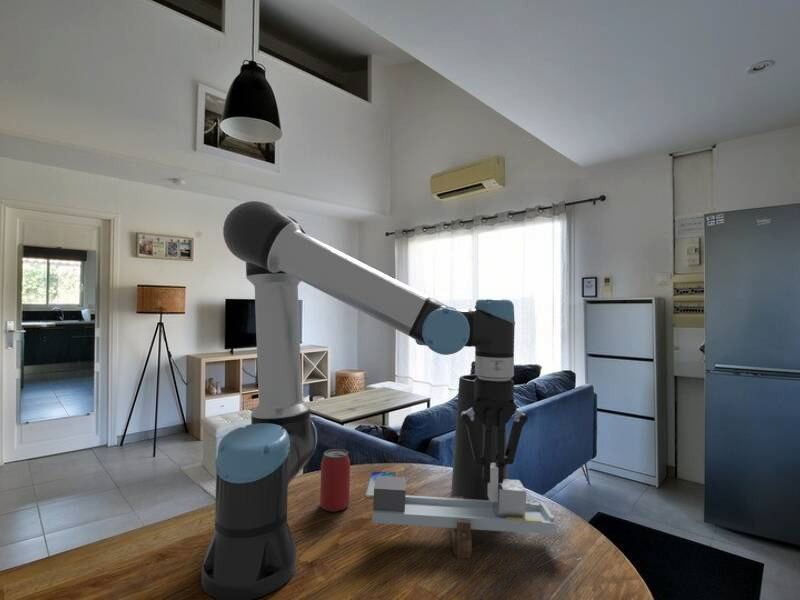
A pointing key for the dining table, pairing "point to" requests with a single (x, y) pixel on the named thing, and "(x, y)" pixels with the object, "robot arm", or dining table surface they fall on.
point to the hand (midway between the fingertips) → (492, 498)
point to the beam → (450, 511)
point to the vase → (464, 465)
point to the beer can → (335, 480)
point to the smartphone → (372, 480)
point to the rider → (510, 500)
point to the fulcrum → (462, 537)
